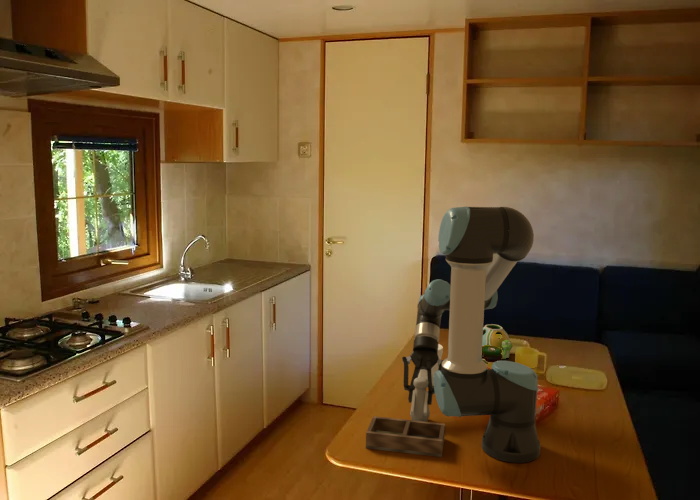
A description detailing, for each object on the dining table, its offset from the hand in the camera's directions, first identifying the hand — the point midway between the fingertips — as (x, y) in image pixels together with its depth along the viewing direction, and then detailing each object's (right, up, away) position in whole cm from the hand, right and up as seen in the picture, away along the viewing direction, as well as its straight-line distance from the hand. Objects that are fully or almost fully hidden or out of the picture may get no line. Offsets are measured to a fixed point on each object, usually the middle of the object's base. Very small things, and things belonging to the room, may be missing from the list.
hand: (418, 413), depth 176 cm
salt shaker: (+1, -3, +4) cm, 6 cm away
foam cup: (+7, +1, +34) cm, 35 cm away
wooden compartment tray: (-5, -5, -10) cm, 12 cm away
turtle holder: (+36, +5, +60) cm, 70 cm away
